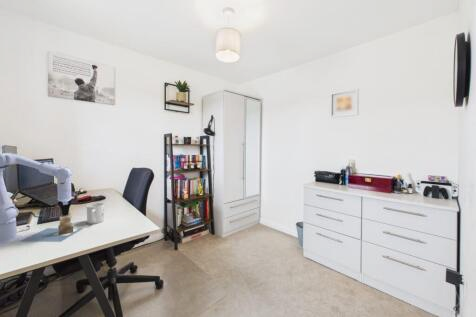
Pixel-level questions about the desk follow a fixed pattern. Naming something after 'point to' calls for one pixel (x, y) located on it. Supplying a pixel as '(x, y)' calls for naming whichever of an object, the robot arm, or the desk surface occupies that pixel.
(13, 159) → the robot arm
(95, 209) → the mug
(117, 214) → the desk surface
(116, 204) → the desk surface
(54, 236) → the mat
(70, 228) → the walnut base
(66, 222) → the maple block
